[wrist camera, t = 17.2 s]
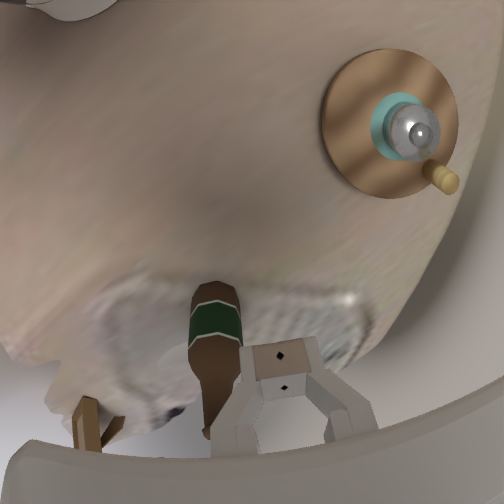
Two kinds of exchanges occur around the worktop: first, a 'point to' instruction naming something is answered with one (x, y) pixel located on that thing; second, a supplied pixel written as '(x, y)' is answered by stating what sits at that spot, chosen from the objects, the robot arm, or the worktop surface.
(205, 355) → the beer bottle
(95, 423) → the photo frame
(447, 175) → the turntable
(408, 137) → the cover
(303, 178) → the worktop surface
